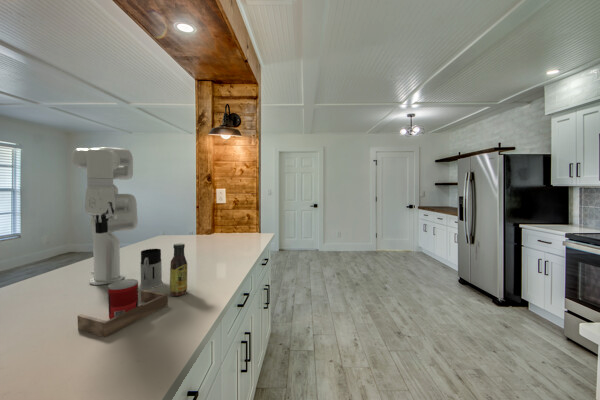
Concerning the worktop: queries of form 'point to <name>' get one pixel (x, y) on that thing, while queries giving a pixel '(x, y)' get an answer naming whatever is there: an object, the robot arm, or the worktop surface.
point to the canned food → (122, 296)
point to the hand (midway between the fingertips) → (101, 232)
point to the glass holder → (151, 268)
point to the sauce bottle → (178, 271)
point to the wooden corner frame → (124, 315)
